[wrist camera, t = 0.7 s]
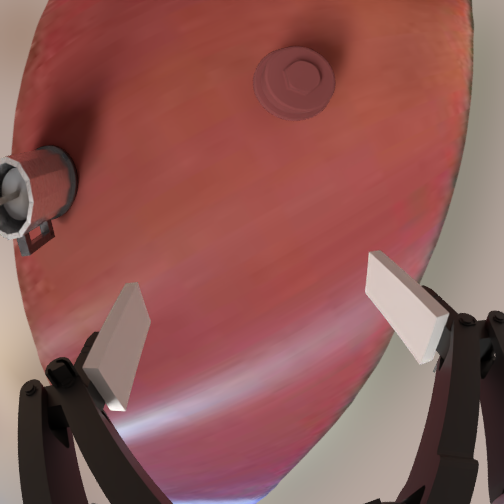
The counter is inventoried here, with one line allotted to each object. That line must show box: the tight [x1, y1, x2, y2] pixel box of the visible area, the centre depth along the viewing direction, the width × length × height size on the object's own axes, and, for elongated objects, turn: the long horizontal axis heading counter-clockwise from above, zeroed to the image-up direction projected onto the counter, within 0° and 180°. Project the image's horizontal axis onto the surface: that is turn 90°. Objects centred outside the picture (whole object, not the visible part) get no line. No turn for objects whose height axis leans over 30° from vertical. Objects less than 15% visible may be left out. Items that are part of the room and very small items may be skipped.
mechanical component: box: [253, 46, 335, 121], centre depth 31 cm, size 12×10×10 cm
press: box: [0, 145, 78, 256], centre depth 33 cm, size 16×13×12 cm
